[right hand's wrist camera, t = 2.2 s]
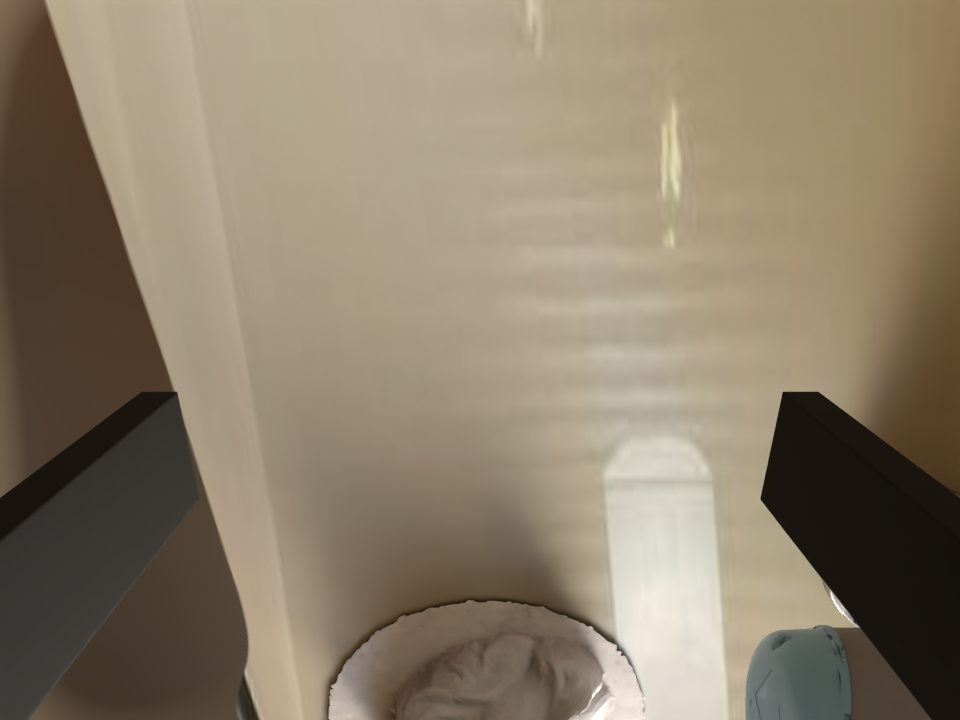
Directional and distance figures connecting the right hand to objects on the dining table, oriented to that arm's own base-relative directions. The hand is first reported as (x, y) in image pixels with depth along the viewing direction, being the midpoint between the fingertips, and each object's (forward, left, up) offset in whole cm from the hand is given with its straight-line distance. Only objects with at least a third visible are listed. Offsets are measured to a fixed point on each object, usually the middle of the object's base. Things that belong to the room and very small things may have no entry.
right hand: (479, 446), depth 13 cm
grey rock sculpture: (+52, +1, -32) cm, 61 cm away
